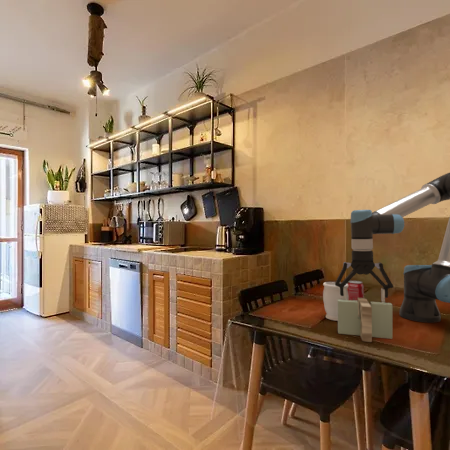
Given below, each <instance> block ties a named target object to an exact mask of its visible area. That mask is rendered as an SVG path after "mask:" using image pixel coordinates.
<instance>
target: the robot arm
mask: <svg viewBox="0 0 450 450" xmlns="http://www.w3.org/2000/svg"><path fill="white" fill-rule="evenodd" d="M443 201H450V172H447V173H445V174H442V175H440V176H438V177H436V178H435V179H433V180H431V181H429V182H427V183H425V184H423V185H422V186H421V188H420V189H418V190H416V191H413V192H411V193H410V194H408V195H406V196H402V197H401V198H399V199H398V200H395V201H392V202H390V203H388V204H387V205H385V206H382V207H381V208H378V209H376V210H375V211H373V210H371V209H354V210H352V211H351V213H350V222H349V223H350V236H351V237H350V238H351V241H350V242H351V249H352V250H351V262H346V261H344V262H343V264H342V268H341V271H340V273H339V275H338V276H337V278H336V280H335V281H334V282H335V285H336V286H338V287H340V295H341V296H343V300H346V288H345V287H344V286H345V285H346V284H348V283H349V281H351V280H352V279H353V277H354V276H356V275H366V276H367V275H370V276H372V277H373V278H374V279H375V280H376V281H377V282H378V283H379V284H380V285H381V286H382V287H381V288H380V293H381V294H380V295H381V296H380V297H381V299H380V300H381V302H384V303H386V299H387V298H388V297H389V289H393V288H394V284H393V283H392V281H391V279H390V277H389V276H388V274H387V272H386V271H385V269H384V264H383V263H382V262H375V263H374V251H373V249H374V243H373V242H374V240H373V238H374V237H373V236H374V235H388V234H389V235H390V234H391V235H394V234H400V233H402V232H403V230H404V228H405V219H404V217H406V216H408V215H411V214H412V213H414V212H416V211H419V210H420V209H423V208H425V207H427V206H430V205H436V204H438V203H441V202H443ZM443 236H444V237H443V240H442V242H441V243H442V244H441V247H440V248H441V249H440V251H439V256H438V258H437V260H436V261H435V262H433V263H432V264H407V265H405V266H404V267H403V299H402V303H401V305H400V308H399V316H400V317H401V318H403V319H405V320H409V321H414V322H421V323H430V324H431V323H433V324H434V323H439V322H441V320H442V319H441V317H442V314H441V312H440V310H439V307H438V305H437V302H436V300H438V301H440V302H442V303H449V304H450V216H449V217H448V221H447V224H446V229H445V233H444V235H443ZM350 267H351V268H352V270H351V271H350V273H348V275H347V276H345V278H344V279H343V277H344V275H345V273H346V272H347V269H349V268H350ZM375 267H376V268H377V269H378V270H379V272H380V273H381V275H382V277H383V279H384V281H385V282H386V284H385V282H384V281H383V280H382V279H381V278H380V277H379V276H378V275H377V274H376V273H375V272H374V271H373V270H374V268H375ZM342 279H343V280H342ZM341 281H342V282H341ZM340 282H341V283H340Z"/></svg>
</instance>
